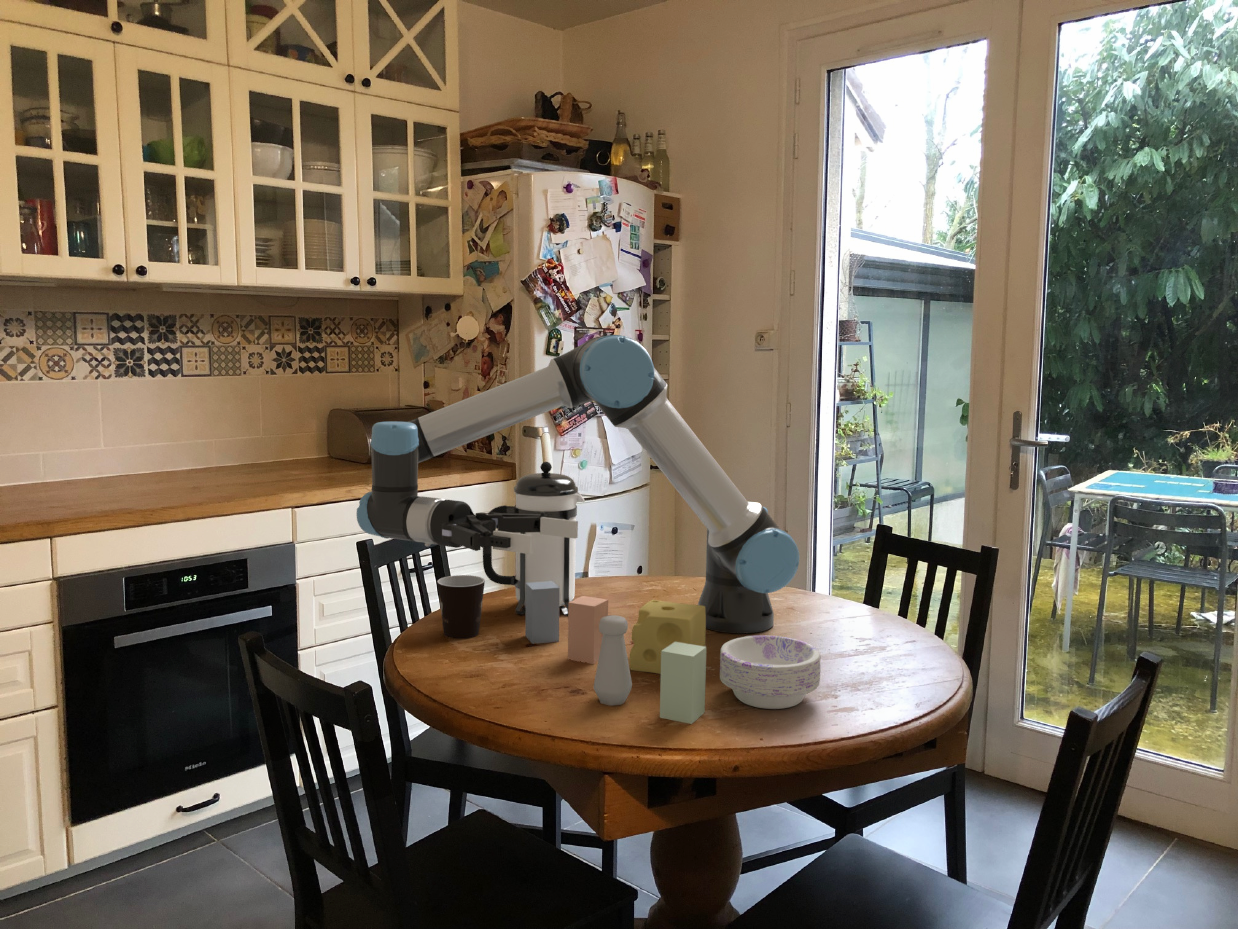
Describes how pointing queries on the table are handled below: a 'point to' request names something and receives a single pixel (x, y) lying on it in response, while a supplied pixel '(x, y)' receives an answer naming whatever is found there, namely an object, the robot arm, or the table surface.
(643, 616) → the cheese
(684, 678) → the sage block
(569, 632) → the terracotta block
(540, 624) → the slate block
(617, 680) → the salt shaker
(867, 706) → the table surface
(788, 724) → the table surface
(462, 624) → the coffee mug
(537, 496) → the coffee press
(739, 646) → the paper bowls
